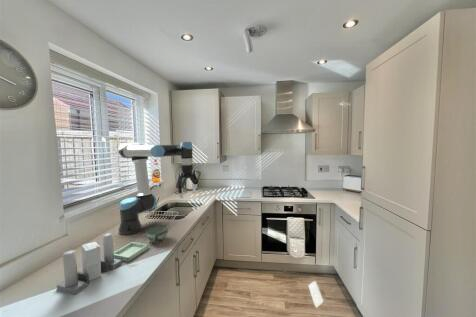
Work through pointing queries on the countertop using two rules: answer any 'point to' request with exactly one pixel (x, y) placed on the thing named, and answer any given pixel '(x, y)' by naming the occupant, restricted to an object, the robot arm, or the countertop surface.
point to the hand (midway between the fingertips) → (188, 195)
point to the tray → (130, 251)
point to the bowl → (157, 233)
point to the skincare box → (91, 260)
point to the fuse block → (79, 280)
